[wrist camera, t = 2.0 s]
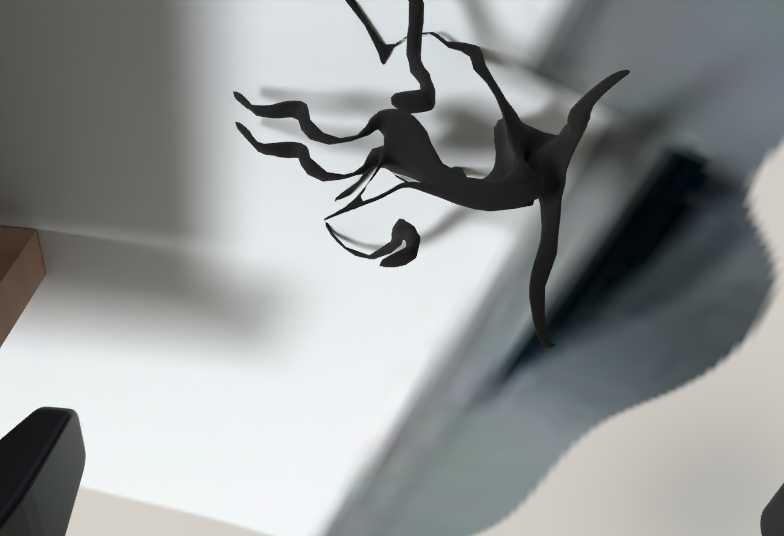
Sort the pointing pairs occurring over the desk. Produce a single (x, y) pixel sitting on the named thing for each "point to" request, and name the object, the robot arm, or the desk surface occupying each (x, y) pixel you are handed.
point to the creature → (421, 162)
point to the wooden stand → (17, 274)
